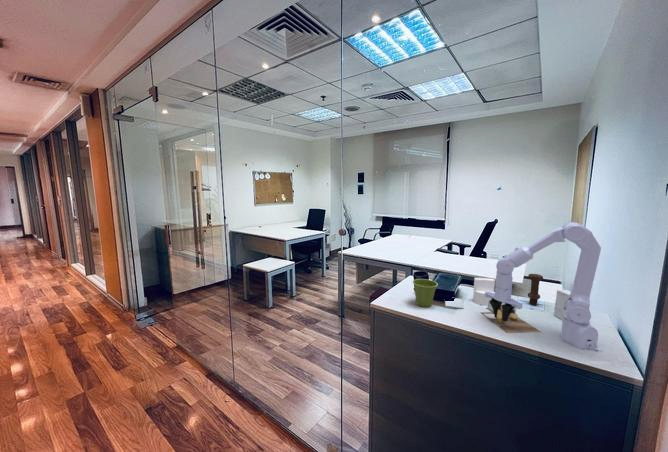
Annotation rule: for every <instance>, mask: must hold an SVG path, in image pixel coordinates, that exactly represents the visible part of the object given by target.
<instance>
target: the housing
mask: <svg viewBox="0 0 668 452" xmlns="http://www.w3.org/2000/svg"><path fill="white" fill-rule="evenodd" d="M490 300H491V299H488V306H487V308H489V309H490V310H492V311H493V308H492V306H491V304H490V302H489V301H490ZM504 304H505V303H503V302H502V304H501V308H502V305H504ZM489 309H488V310H489ZM490 310H489V311H490ZM492 311H491V312H492ZM511 313H514V314H517V308H516V307H515V308H514V309H513V310H512V312H511Z"/></svg>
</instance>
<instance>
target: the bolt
mask: <svg viewBox="0 0 668 452" xmlns="http://www.w3.org/2000/svg"><path fill="white" fill-rule="evenodd" d="M528 278H529V279H530V290H529V291H530V292H528V293H527V296H528V298H529V305H531V306H538V301H539V299H541V295H540V294H539V291H540V290H539V288H540V287H539V286H540V281H541V280H542V281H543V280H544V276H543V275H541V274H538V273H529V274H528Z"/></svg>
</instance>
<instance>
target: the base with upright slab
mask: <svg viewBox="0 0 668 452" xmlns="http://www.w3.org/2000/svg"><path fill="white" fill-rule="evenodd" d="M473 281H474V282H473V294H472V295H473V297H472V302H474V303H475V304H477V305H480V306H485V307H488V299H492V298H489V297H485V292H491V293H495V283H496V279H494V278H485V277H484V278H483V277H474V279H473Z"/></svg>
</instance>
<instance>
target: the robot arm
mask: <svg viewBox="0 0 668 452" xmlns="http://www.w3.org/2000/svg"><path fill="white" fill-rule="evenodd" d="M566 240H567V241H569V242H570V243H573V244H575V245H576V246H577V247H578V248H579V249H580V253H579V258H578V263H577V267H576V271H575V276H574V280H573V285H572V289H571V291H570V292H571V293H570V296H569V298H568V299H567V300H566V301H565V303H564V307H565V309H566V311H567V312H566V313H565V314H564V315H563V320H562V323H561V332H560V333H561V334H560V339H562V340H563V341H565V342H567V343H569V344H571V345H573V346H574V347H577V348H578V349H580V350H586V349H588V350H590V349H591V350H593V351H595V352H596V351H599V348H598V339H599V332H598V330H597V329H596V328H595V327H594V326H592V325H591V323H590V322H591V318H592V313H591V311H590V306H591V302H590V301H591V300H590V299H591V298H590V297H591V293H592V288H593V285H594V280H595V276H596V271H597V267H598V263H599V259H600V256H601V255H600V254H601V249H602V247H601V245H600V243H599V242H598V240H597V239H596V237H595V236H594V234H593V231H591V230H590V229H588V228H587V227H586V226H585V225H583V224H581V223H579V222H576V221H570V222H567V223H565V224H563V225H562V226H558V227H557V228H554V229H553V230H551V231H549V232H547V233H546V234H545V235H543V236H542V237H540V238H539V239H537V240H536V241H534V242H533V243H531V244H530V245H528V246H520V247H519V246H517V247H515V248H514V250H513V251H511V252H510V253H509V254H505V255H503V257H502V258H501V257H500V259H498V261H497V262H496V266H495V267H496V275H495V287H494V293H491V292H485V297H489V298H492V299H491V300H490V301H489V302H490V304H491V306H492V308H493V312H494V314H493V316H494V318H497V308H501V304H502V302H503V303H505V304H504V305H502V310H503V321H508V318H509V315H510V313H512V310H513V309H514V308H515V307H516V310H522V309H523V303H521V302H519V301H518V300H515V299H513V298H512V293H513V292H512V290H513V271H514V269H515V268H516V269H517V268H519V267H521V266H522V265H524V264H526V263H527V262H529V261H531V260H533V258H534V254H536V253H537V252H539V251H541V250H543V249H545V248H546V247H550V246H551V245H552V244H554V243H565V242H566Z"/></svg>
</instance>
